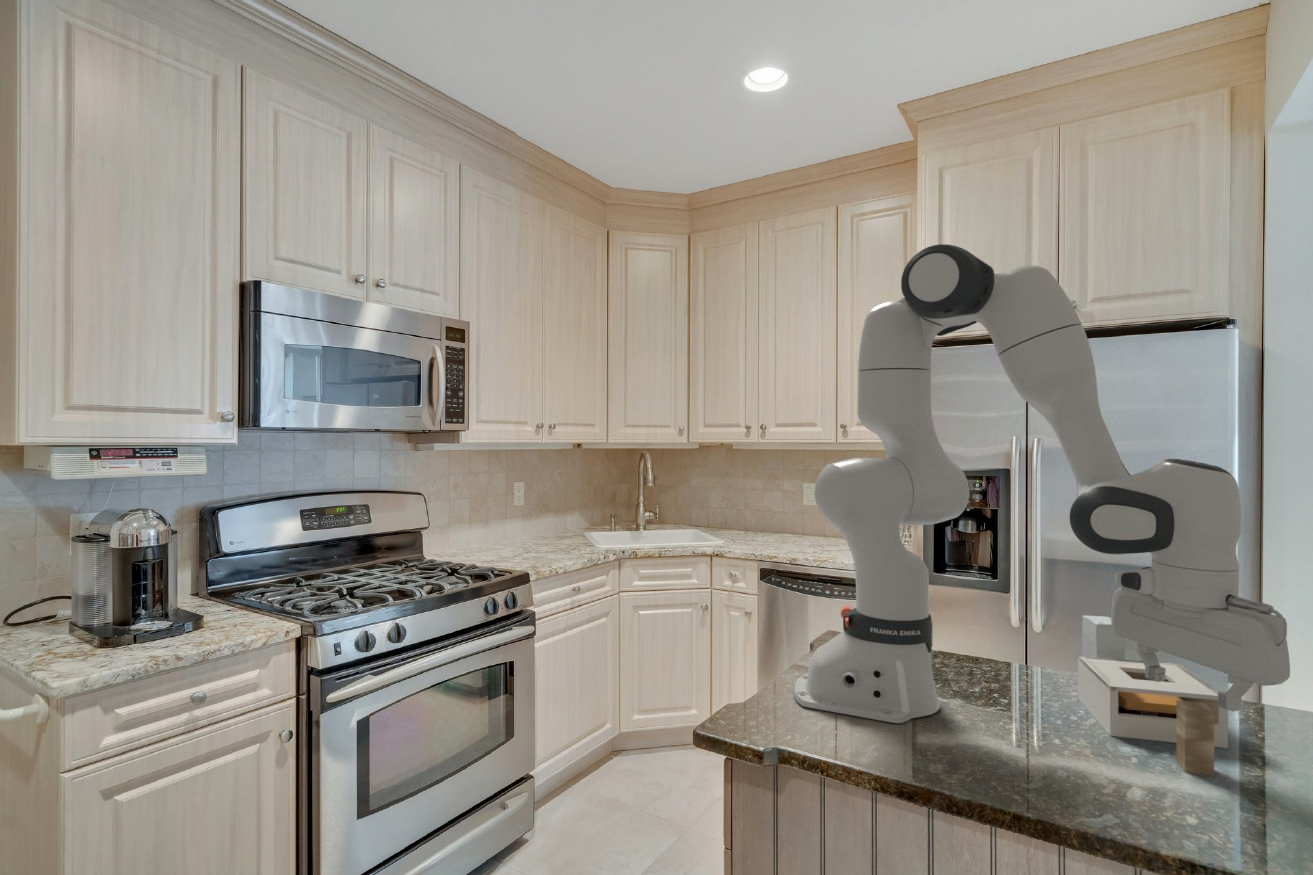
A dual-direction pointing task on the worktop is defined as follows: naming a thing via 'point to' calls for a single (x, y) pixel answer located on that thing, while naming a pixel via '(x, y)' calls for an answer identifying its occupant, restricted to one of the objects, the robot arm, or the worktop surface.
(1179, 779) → the worktop surface
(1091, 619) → the skincare box
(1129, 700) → the button
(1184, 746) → the brown wooden block
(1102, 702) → the box
